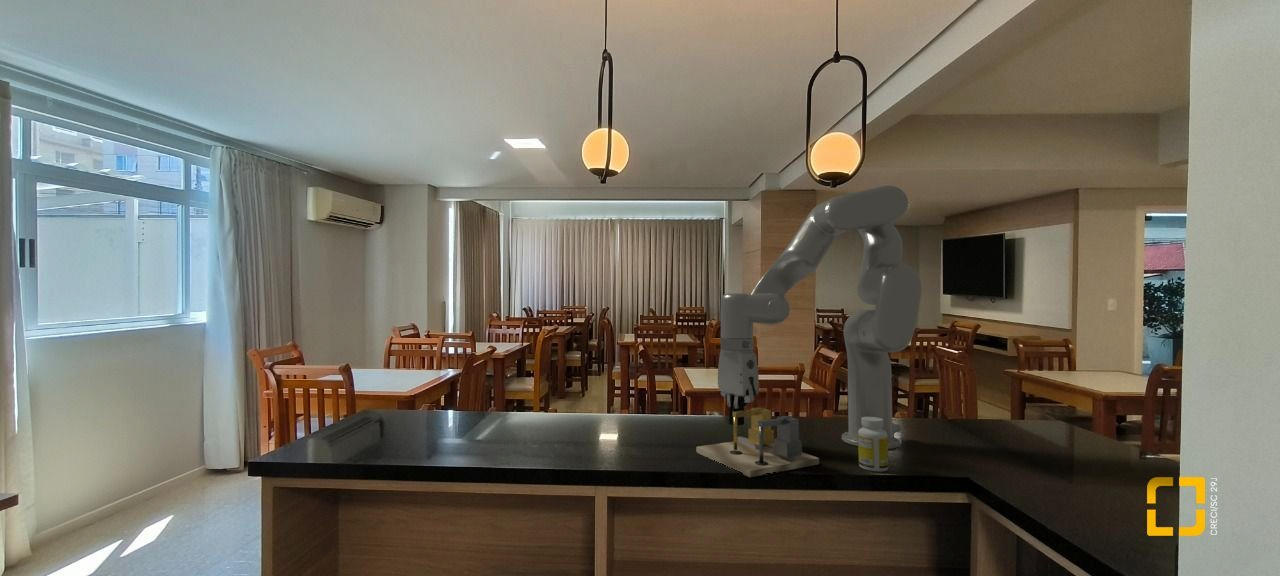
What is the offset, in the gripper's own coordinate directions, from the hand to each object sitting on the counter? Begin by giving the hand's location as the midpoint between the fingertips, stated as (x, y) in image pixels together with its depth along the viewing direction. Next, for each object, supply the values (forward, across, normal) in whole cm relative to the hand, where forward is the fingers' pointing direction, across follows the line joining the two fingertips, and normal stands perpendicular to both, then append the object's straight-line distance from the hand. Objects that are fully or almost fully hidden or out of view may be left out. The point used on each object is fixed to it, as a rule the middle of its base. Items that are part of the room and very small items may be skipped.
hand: (736, 424), depth 114 cm
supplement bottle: (+5, -26, -14) cm, 29 cm away
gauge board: (+5, -10, +3) cm, 11 cm away
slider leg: (+3, -8, +3) cm, 9 cm away
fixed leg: (+3, -16, +3) cm, 17 cm away
